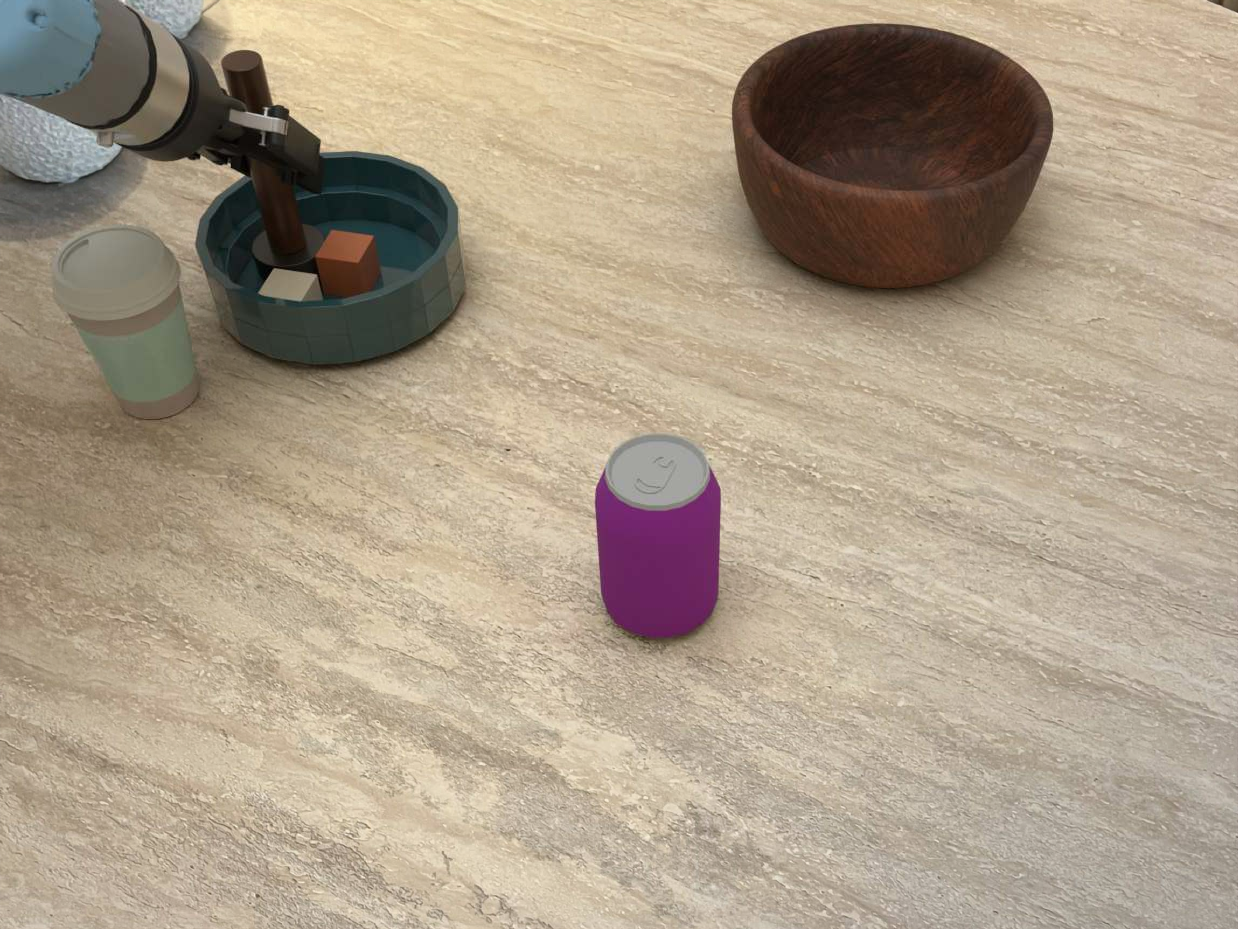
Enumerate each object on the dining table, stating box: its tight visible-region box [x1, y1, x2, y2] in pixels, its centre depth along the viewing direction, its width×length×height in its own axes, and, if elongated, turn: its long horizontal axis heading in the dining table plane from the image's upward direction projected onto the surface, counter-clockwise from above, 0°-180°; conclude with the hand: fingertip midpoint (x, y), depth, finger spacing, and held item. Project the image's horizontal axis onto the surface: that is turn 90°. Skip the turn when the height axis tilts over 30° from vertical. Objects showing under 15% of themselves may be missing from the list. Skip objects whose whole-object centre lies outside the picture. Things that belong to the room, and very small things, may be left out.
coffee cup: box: [50, 224, 200, 420], centre depth 103 cm, size 8×8×12 cm
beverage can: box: [594, 432, 722, 639], centre depth 91 cm, size 8×8×12 cm
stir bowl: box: [194, 150, 467, 365], centre depth 113 cm, size 20×20×6 cm
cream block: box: [258, 268, 323, 301], centre depth 111 cm, size 4×4×4 cm
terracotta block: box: [315, 230, 381, 297], centre depth 113 cm, size 4×4×4 cm
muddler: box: [220, 49, 325, 281], centre depth 108 cm, size 6×6×17 cm
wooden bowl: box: [731, 22, 1054, 289], centre depth 118 cm, size 25×25×10 cm
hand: (296, 172), depth 112 cm, fingers closed on muddler, 3 cm apart
